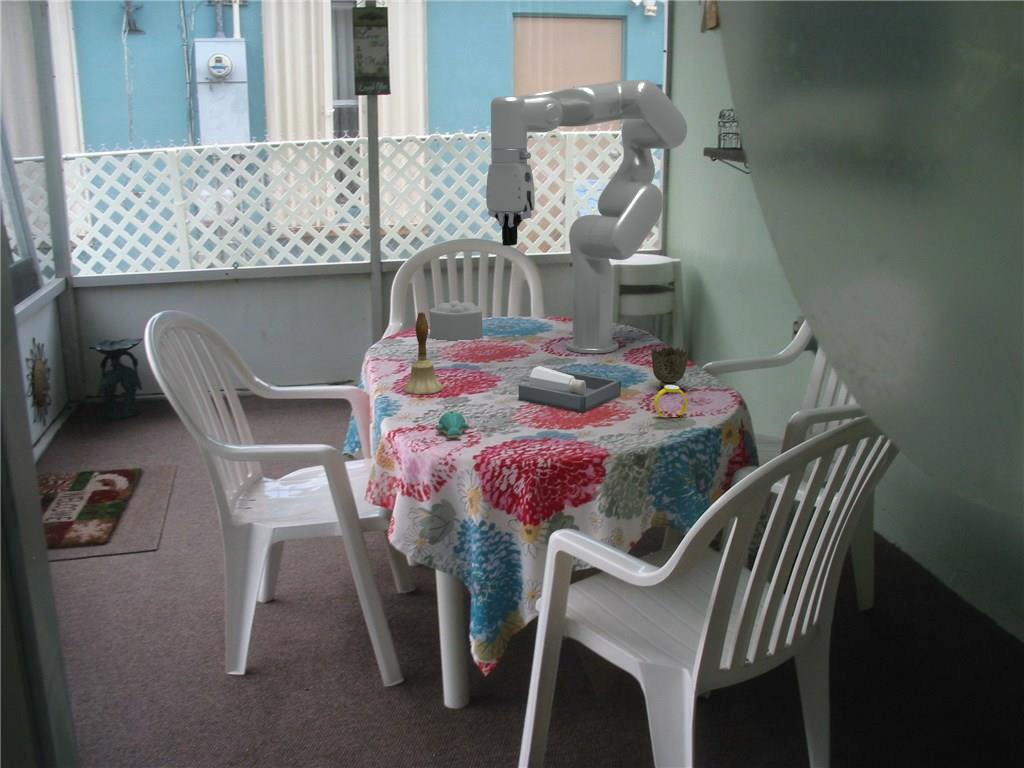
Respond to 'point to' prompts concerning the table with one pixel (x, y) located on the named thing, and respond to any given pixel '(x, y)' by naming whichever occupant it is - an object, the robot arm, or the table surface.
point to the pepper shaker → (555, 381)
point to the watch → (670, 389)
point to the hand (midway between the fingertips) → (509, 244)
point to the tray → (593, 396)
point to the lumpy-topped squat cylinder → (456, 321)
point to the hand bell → (422, 364)
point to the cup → (669, 365)
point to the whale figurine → (452, 424)
